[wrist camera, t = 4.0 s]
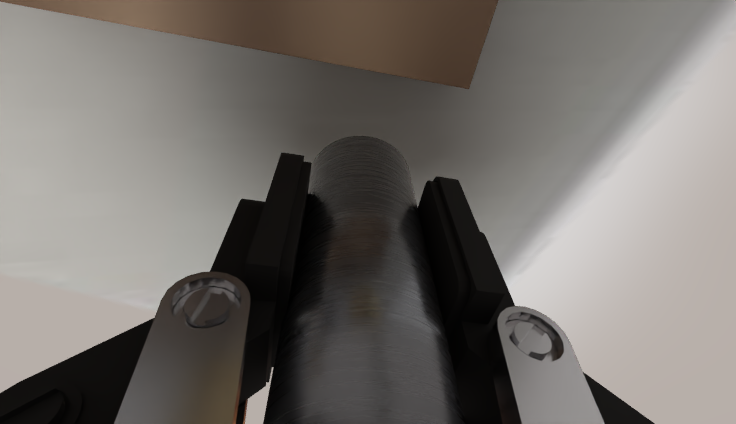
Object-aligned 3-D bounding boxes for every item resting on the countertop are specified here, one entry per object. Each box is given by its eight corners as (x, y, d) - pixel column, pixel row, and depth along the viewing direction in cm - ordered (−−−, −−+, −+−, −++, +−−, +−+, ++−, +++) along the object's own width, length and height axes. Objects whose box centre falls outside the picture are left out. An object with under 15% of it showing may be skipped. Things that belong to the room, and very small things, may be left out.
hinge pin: (394, 93, 10) (580, 877, 2) (446, 206, 12) (643, 809, 4) (264, 156, 11) (-16, 861, 3) (333, 251, 13) (296, 813, 5)
